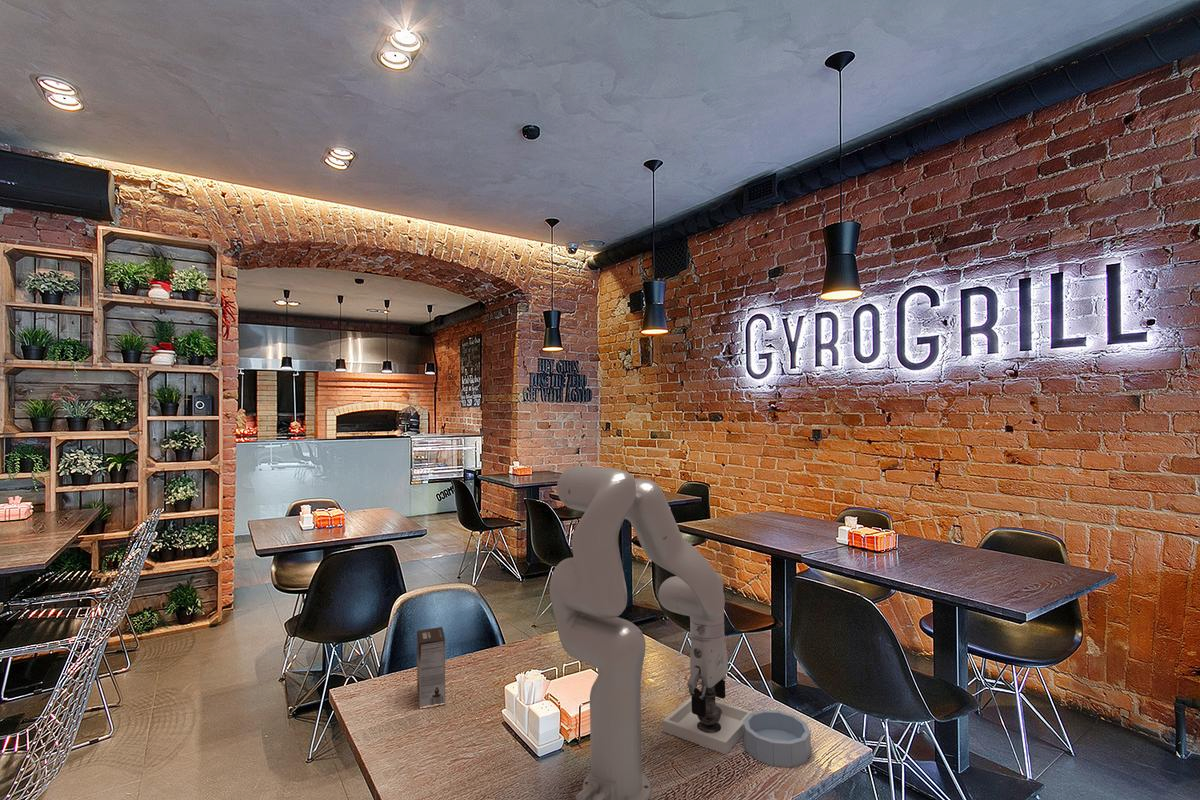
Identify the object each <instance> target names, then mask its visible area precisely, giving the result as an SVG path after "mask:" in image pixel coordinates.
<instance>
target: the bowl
mask: <svg viewBox="0 0 1200 800" xmlns="http://www.w3.org/2000/svg"><path fill="white" fill-rule="evenodd" d="M752 712H753V713H750V714H749V715H748V716H747V717H746V718H745V719H744V720H743V723H744V736H743V743H744V749H745V751H746V753H748V754H749V755H750V756H752V758H754V759H755V760H756V761H758V762H760V763H761V762H762V763H764V764H767V765H769V766H772V767H780V768H781V767H786V768H794V767H797V766H800V765H803V763H804V764H806V763H807V762H806V761H808V760H809V759H810V757H811V755H812V744H811V743H812V742H811V736H812V735H811V733H812V732H811V730H810V728H809V725H808V723H807V722H806V721H804V720H803V719H801V718H799V717H798V716H797V715H795V714H792V713H788V712H785V711H781V710H772V709H761V710H758V711H752ZM808 758H809V759H808Z"/></svg>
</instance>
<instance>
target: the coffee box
mask: <svg viewBox="0 0 1200 800" xmlns="http://www.w3.org/2000/svg"><path fill="white" fill-rule="evenodd" d="M416 680H417V681H416V682H417V683H416V684H417V685H416V689H417V690H416V691H417V692H418V693H417V700H419V701H418V707H423V706H427V705H434V704H441V703H445V704H446V637H445V633H444V630H443V626H439V627H438V626H437V627H432V628H426V629H421V630H419V629H418V630H417V631H416Z"/></svg>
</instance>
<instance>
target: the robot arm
mask: <svg viewBox="0 0 1200 800" xmlns="http://www.w3.org/2000/svg"><path fill="white" fill-rule="evenodd" d="M556 484H557V485H556V491H557V492H556V493H557V496H558V498H559V500H560V501H561V504H563V505H564V506H565V507H566V508H568V509H572V510H574V511H579V512H583V513H584V514H582V516H581V518H580V519H579V522H578V523H577V525H576V527H575V529H574V531H573V534H572V538H571V549H572V550H571V551H572V556H573V557H567V558H564V559H563V560H561V561H560V562H559V563H558V564H556V566H555V568H554V570H553V572H552V574H551V576H550V581H549V582H550V583H549V595H550V602H551V606H552V613H553V615H554V620H555V624H556V625H555V626H556V629H557V633H558V638H559V641H560V643H561V647H562V648H563V650H564V651H565V652H566V653H567V654H568V656H570V657H572V658H574V659H576V660H578V661H581V662H583V663H586V664H587V665H591V666H592V667H595V668H596V669H597V670H598V671H597V672H598V674H597V677H596V678H595V680H594V681H593V684H592V686H591V688H590V693H589V729H590V730H589V732H590V733H589V734H590V735H589V736H590V741H589V743H590V772H589V773H588V775H587V776H586V777H585V778H584V780H583V782H582V789H581V790H580V791H579V792H578V793H577V794H576V795H575V800H649V799H650V796H651V792H652V791H651V790H652V789H651V788H652V787H651V781H650V780H649V778H648V777H647V775H646V774H644V772H643V762H642V761H643V755H642V753H643V752H642V749H643V747H642V746H643V745H642V703H641V702H642V692H641V691H642V690H641V689H642V688H641V687H642V673H643V666H644V662H645V661H644V660H645V655H646V654H645V653H646V639H645V636H644V634H643V632H642V630H641V629H640V628H639V627H638V626H637V625H635V624H634V623H633V622H631V621H630V620H627V619H624V618H621V617H619V616H620V615H622V613H623V612H624V611H625V610H626V607H627V604H628V588H627V584H626V580H625V579H626V578H625V573H624V568H623V563H622V558H621V553H620V547H619V536H620V535H619V534H620V530H621V527H622V526H623V523H624V520H627V521H628V522H629V523H630V524H631V526H632V527H631V528H632V529H633V531H634V533H635V535H636V537H637V539H638V541H639V544H640V546H641V548H642V551H643V553H644V554H645V556H646V557H647V558H648V559H649V560H650V561H652V562H653V563H654V564H656V565H657V566H659V567H660V568H662V569H664V570H666V571H667V572H669V573H671V574H673V575H675V576H670V577H669V578H666V579H665V580H663V582H662V583H661V585H660V587H659V590H658V601H659V603H660V604H661V606H662V607H663V608H664V609H665V610H667V611H670V612H672V613H675V614H678V615H682V616H687V617H689V622H690V623H689V624H690V625H689V626H690V627H689V628H690V632H689V634H690V636H691V643H690V656H689V657H690V658H689V660H690V661H689V665H690V666H689V669H690V670H689V672H690V676H689V678H688V680H687V687H688V692H689V694H690V697H691V699H692V713H693V714H696V715H699V716H702V717H705V716H706V698H705V697H704V695H705V691H706V687H708V688H711V687H713V686H714V685H715V692H716V693H717V695H716V696H715V698H716V697H717V698H718V699H723V700H724V699H726V679H727V674H728V672H729V667H728V666H729V665H728V664H729V662H728V651H727V641H726V635H725V611H724V610H725V605H726V603H725V593H724V579H723V577H722V575H721V574H720V573H719V572H716V570H715V569H714V566H713V565H712V564H711V563H710V561H708V559H707V558H706V557H705V556H703V554H702V553H700V552H699V551H698V550H697V548H696V547H695V546H693V545H692V544H691V543H690V542H689V541H687V540H686V539H685V538H684V537H683V535H682V534H681V532H680V529H679V526H678V524H677V521H676V520H675V517H674V515H673V512H672V509H671V507H670V505H669V503H668V501H667V498H666V496H665V493H664V491H663V490H662V487H661V486H660V485H659V484H658V483H657V482H655V481H653V480H650V479H646V478H637V477H634V476H633V475H632V474H631V473H630V472H628V471H625V470H623V469H620V468H615V467H614V468H613V467H604V466H601V467H600V466H586V465H585V466H584V465H574V466H573V465H572V466H571V467H568V468H567V469H565V470H564V471H563V472H562V473H561V474H560V476H559V478H558V479H557V483H556ZM702 681H703V682H702ZM697 686H699V687H700V689H699V688H698V687H697Z"/></svg>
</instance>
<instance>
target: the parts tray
mask: <svg viewBox="0 0 1200 800" xmlns="http://www.w3.org/2000/svg"><path fill="white" fill-rule="evenodd" d="M715 703H716V706H718V707H719V708H720V709H721V710H722V714H721V717H720V720H719V721H718V723H719V724H720V725H721V730H720V731H718V732H716V733H705V732H702V731H700V730H699V729H698V728H697V724H698V722H700V720H699V719H698V716H697V715H696V714H693V713H692V699H691V696H690V697H689V698H687V700H685V701H684V702H683V703H682V704H680V705H679V706H678V707H677V708H676V709H675V710H673V711H671V712H670V714H668V715H667V716H666V717H665V718H664V719H662V733H664V732H666V733H665V734H667V733H668V734H667V735H670V734H671V735H670V736H672V735H674V736H673V737H675V736H677V737H676V738H678V737H679V739H681V738H682V739H681V740H683V739H684V741H686V740H687V741H686V742H689V741H690V742H689V743H692V742H693V743H692V744H694V743H695V745H697V744H699V745H698V746H700V745H702V746H701V747H703V746H704V747H703V748H705V747H707V748H706V749H708V748H709V750H711V751H714V750H715V751H714V752H717V753H720V754H722V755H725V756H727V754H728V753H729V752H730V751H731V750H732V749H733V748H734V747H735V746H736V744H737V743H738V742H739V741H740V740H741V739H742V738H744V723H743V720H744V719H745V718H746V717H747V716H748V715H749V714H750V713H753V712H754V711H751V710H750V709H749V710H747V709H745V708H742V707H739V706H735V705H733V704H729V703H725V702H722V701H719V700H716V699H715ZM734 745H735V746H734ZM733 746H734V747H733ZM732 747H733V748H732Z"/></svg>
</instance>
